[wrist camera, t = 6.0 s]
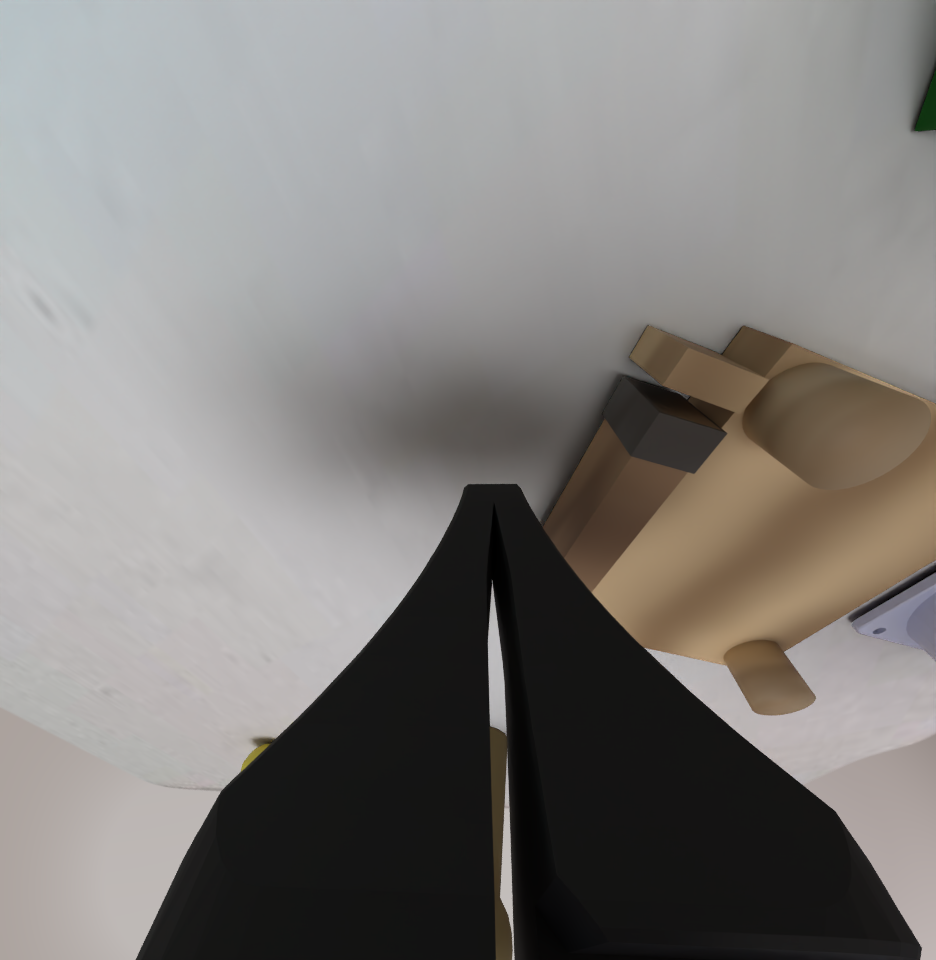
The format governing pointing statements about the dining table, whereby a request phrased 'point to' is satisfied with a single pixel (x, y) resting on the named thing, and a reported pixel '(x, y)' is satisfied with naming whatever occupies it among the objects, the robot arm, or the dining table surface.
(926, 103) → the milk carton
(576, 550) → the hinged leg
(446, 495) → the dining table surface
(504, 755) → the cork
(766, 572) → the stool seat
